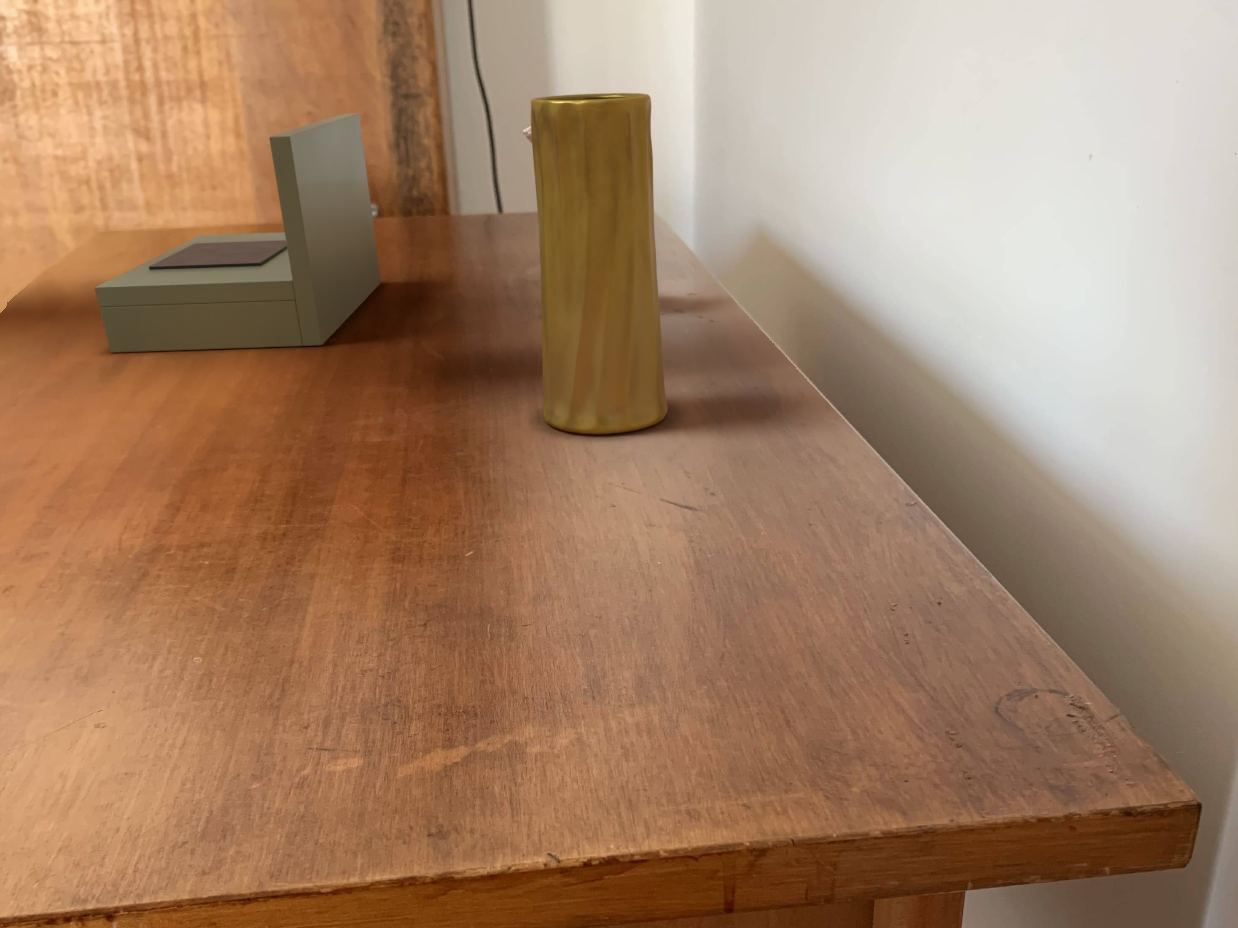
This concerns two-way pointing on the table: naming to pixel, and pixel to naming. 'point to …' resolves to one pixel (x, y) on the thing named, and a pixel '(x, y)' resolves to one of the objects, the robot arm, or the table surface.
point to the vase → (598, 262)
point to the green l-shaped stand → (262, 261)
